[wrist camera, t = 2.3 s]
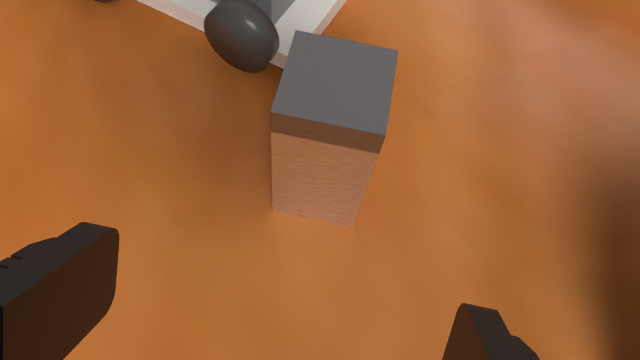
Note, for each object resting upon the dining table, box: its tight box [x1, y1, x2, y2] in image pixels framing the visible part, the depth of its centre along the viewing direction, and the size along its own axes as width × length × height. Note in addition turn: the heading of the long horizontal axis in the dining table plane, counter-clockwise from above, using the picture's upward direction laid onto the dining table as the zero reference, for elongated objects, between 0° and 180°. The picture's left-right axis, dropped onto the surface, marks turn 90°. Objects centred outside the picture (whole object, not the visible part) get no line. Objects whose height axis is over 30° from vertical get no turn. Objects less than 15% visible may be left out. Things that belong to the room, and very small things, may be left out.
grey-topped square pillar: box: [271, 30, 398, 227], centre depth 26 cm, size 5×5×10 cm
